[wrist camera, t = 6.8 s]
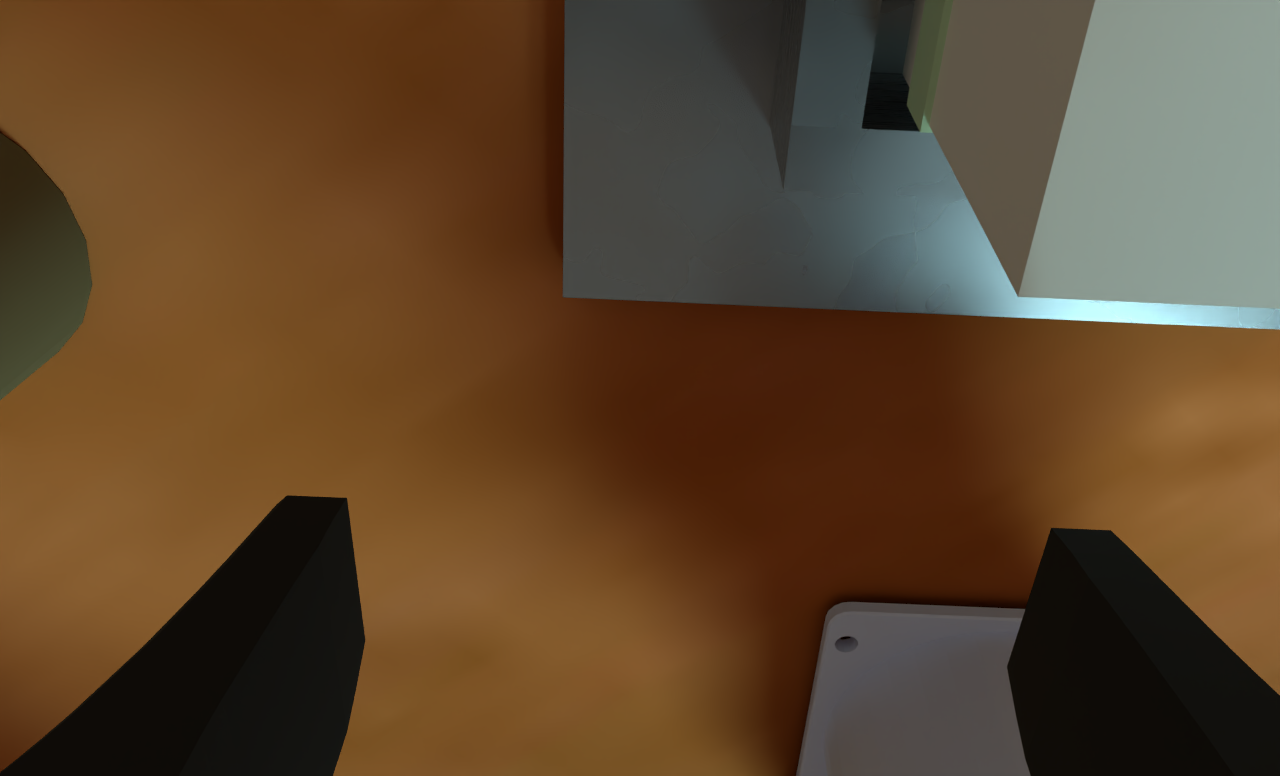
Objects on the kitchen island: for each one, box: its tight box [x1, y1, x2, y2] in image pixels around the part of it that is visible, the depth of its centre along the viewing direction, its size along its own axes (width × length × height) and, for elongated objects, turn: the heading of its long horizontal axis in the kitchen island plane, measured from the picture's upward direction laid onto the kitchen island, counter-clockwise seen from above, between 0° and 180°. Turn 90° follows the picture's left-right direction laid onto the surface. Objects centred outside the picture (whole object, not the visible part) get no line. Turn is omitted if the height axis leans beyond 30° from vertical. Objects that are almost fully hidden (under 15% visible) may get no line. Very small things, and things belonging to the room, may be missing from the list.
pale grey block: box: [902, 0, 1280, 309], centre depth 13 cm, size 4×4×6 cm
